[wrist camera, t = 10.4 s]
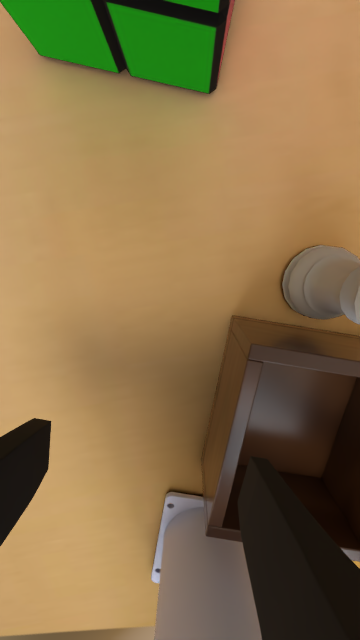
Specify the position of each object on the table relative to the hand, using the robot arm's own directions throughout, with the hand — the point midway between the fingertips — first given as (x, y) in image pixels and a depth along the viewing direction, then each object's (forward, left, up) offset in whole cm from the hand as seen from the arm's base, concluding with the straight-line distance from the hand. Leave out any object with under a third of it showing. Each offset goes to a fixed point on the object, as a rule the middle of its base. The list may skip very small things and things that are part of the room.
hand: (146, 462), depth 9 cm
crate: (-2, -8, -10) cm, 13 cm away
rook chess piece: (+7, -8, -10) cm, 15 cm away
